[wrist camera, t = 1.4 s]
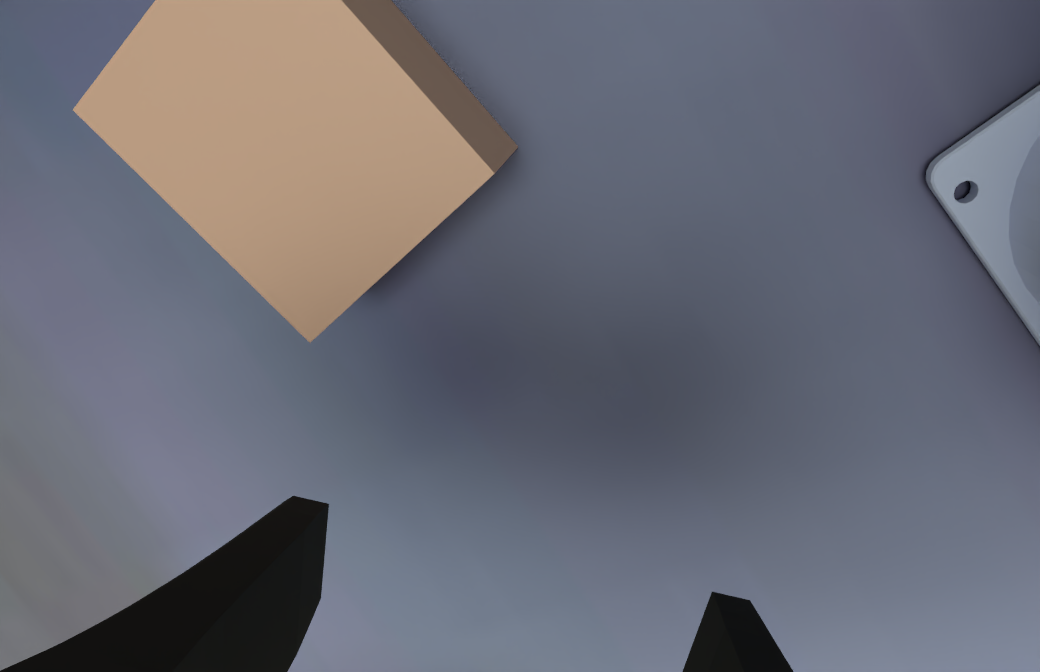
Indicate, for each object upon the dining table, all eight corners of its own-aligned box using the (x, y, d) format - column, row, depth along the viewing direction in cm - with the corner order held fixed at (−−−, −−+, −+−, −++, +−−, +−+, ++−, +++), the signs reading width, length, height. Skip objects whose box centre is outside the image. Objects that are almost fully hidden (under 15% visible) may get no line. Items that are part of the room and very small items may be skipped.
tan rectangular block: (519, 145, 19) (494, 173, 15) (364, 287, 21) (309, 342, 17) (321, -83, 17) (241, -114, 14) (176, 95, 19) (72, 109, 16)
